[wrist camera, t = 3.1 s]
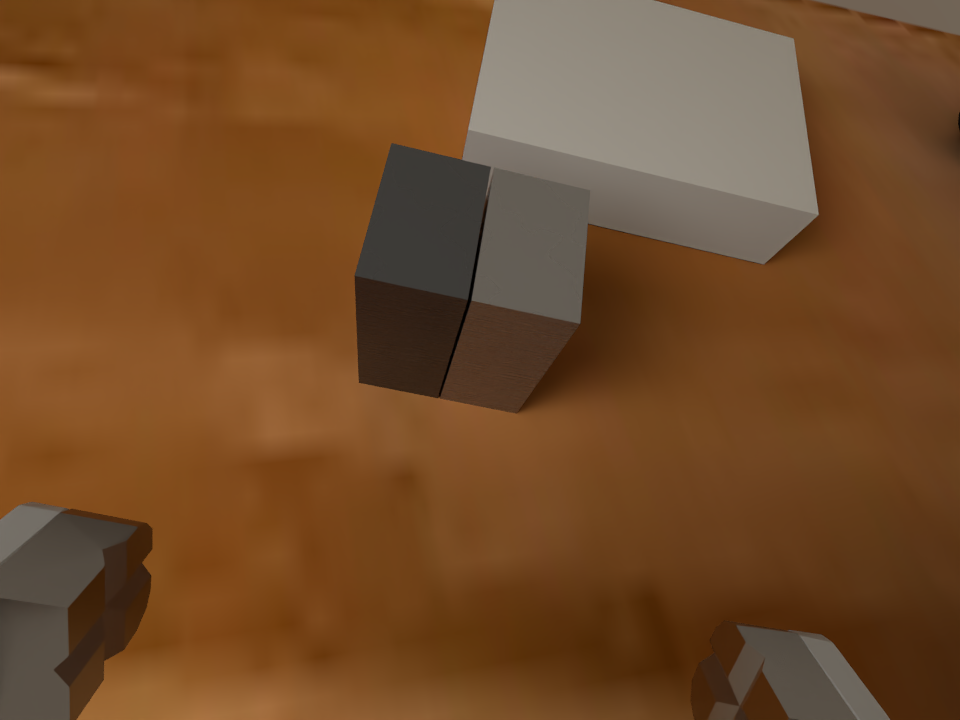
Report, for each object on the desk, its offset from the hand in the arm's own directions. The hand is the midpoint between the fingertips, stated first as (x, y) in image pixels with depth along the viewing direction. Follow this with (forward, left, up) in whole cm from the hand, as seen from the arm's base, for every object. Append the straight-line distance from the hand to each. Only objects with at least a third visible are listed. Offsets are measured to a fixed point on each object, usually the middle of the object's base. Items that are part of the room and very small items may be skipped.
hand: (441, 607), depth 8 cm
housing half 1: (+2, +11, -13) cm, 17 cm away
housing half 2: (-2, +11, -13) cm, 17 cm away
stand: (+7, +25, -13) cm, 29 cm away
